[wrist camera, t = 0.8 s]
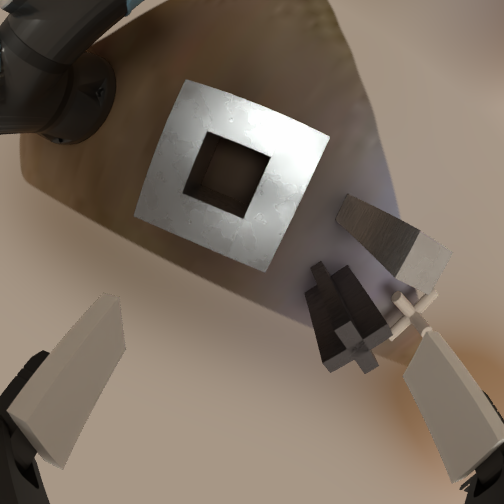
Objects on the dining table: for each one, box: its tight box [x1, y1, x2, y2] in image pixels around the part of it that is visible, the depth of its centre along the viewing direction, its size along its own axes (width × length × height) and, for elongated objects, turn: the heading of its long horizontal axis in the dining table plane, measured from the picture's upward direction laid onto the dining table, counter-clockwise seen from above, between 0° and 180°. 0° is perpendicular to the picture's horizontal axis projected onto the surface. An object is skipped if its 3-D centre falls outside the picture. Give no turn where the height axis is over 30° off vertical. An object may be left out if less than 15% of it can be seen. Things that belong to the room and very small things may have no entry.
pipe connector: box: [389, 288, 439, 341], centre depth 37 cm, size 10×10×10 cm
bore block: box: [134, 80, 330, 272], centre depth 32 cm, size 16×16×9 cm
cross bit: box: [305, 261, 393, 374], centre depth 34 cm, size 8×8×16 cm
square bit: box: [335, 194, 453, 295], centre depth 28 cm, size 4×4×20 cm
